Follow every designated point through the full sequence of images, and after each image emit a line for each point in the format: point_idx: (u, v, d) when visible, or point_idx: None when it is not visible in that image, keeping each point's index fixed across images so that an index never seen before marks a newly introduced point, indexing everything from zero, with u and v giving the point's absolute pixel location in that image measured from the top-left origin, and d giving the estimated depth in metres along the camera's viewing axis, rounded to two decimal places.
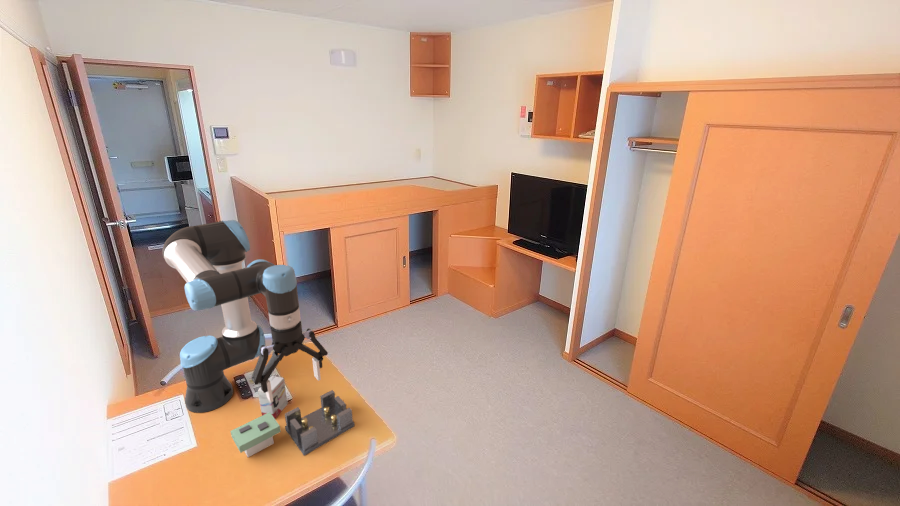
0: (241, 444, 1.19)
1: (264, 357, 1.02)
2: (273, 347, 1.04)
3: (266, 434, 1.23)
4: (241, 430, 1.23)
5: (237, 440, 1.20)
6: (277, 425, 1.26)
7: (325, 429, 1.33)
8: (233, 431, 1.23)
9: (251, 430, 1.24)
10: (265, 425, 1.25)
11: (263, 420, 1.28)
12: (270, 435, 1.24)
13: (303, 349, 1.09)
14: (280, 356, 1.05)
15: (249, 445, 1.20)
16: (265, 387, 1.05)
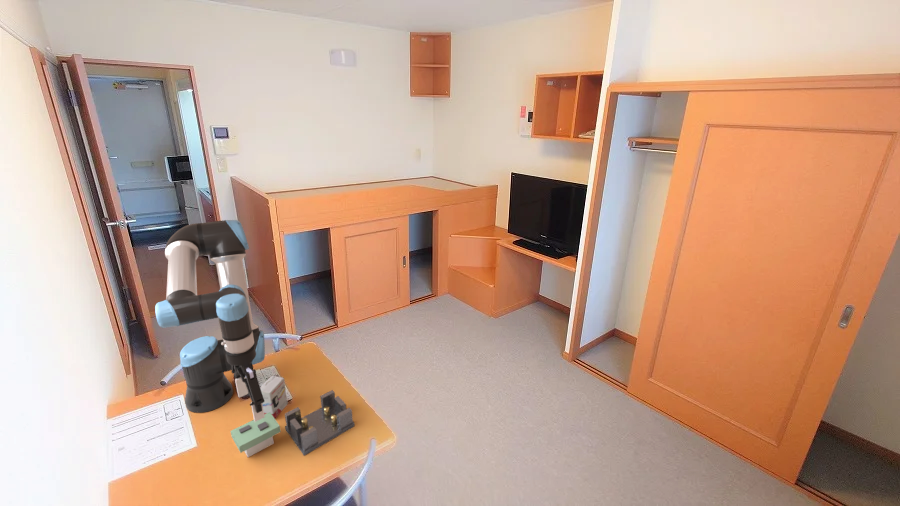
0: (241, 444, 1.19)
1: None
2: None
3: (266, 434, 1.23)
4: (241, 430, 1.23)
5: (237, 440, 1.20)
6: (277, 425, 1.26)
7: (325, 429, 1.33)
8: (233, 431, 1.23)
9: (251, 430, 1.24)
10: (265, 425, 1.25)
11: (263, 420, 1.28)
12: (270, 435, 1.24)
13: (242, 380, 1.13)
14: (234, 368, 1.17)
15: (249, 445, 1.20)
16: None
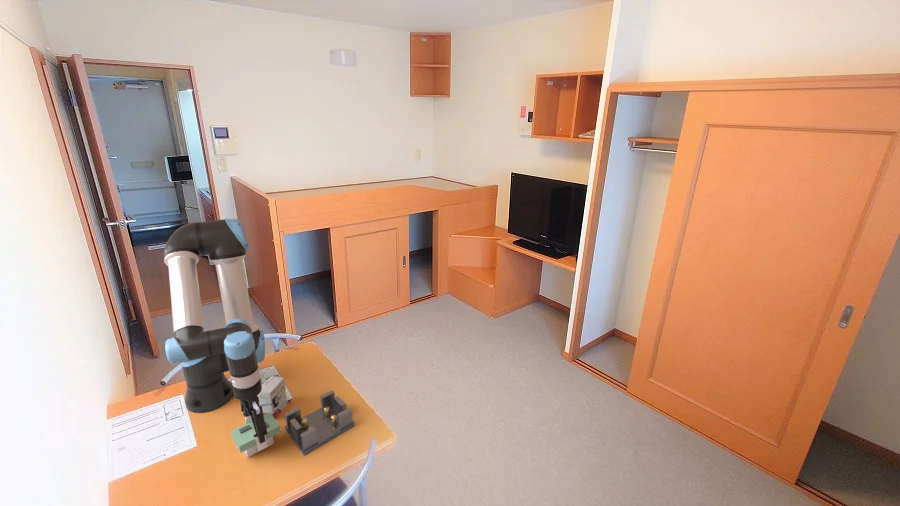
0: (241, 444, 1.19)
1: None
2: None
3: (266, 434, 1.23)
4: (241, 430, 1.23)
5: (237, 440, 1.20)
6: (277, 425, 1.26)
7: (325, 429, 1.33)
8: (233, 431, 1.23)
9: (251, 430, 1.24)
10: None
11: None
12: (270, 435, 1.24)
13: (248, 413, 1.19)
14: (242, 402, 1.22)
15: (249, 445, 1.20)
16: None
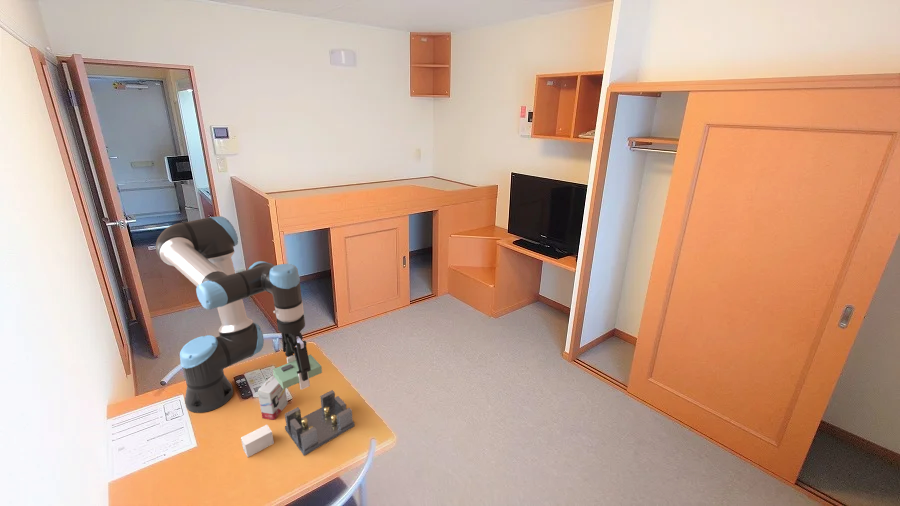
0: (284, 380, 1.17)
1: None
2: None
3: (308, 373, 1.21)
4: (283, 368, 1.21)
5: (280, 377, 1.18)
6: (319, 365, 1.24)
7: (325, 429, 1.33)
8: (275, 369, 1.22)
9: (293, 369, 1.22)
10: None
11: None
12: (312, 374, 1.23)
13: (291, 348, 1.17)
14: (284, 339, 1.20)
15: (292, 382, 1.19)
16: None
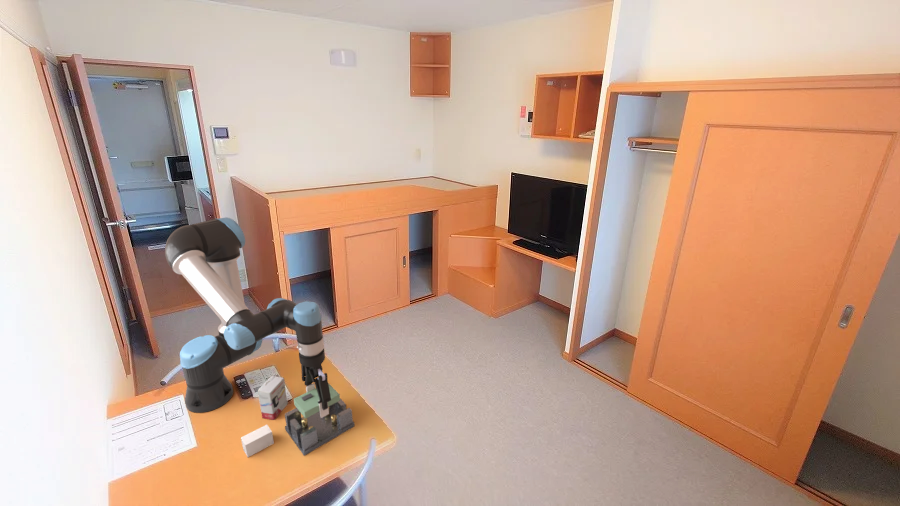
0: (306, 410, 1.24)
1: None
2: None
3: (328, 402, 1.29)
4: (304, 398, 1.29)
5: (301, 406, 1.26)
6: (337, 394, 1.31)
7: (325, 429, 1.33)
8: (296, 399, 1.29)
9: (313, 398, 1.29)
10: None
11: None
12: (331, 403, 1.30)
13: (312, 380, 1.24)
14: (305, 371, 1.27)
15: (313, 411, 1.26)
16: None
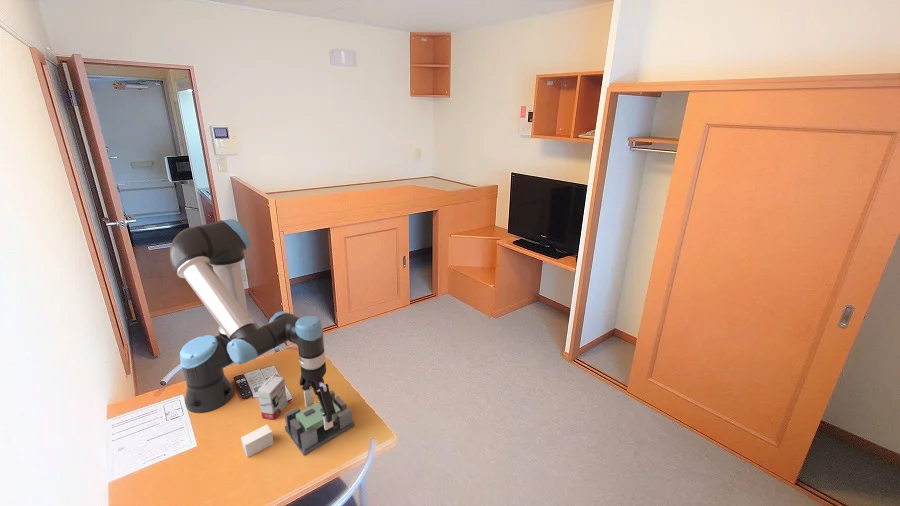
0: (308, 426, 1.27)
1: None
2: None
3: None
4: (306, 413, 1.31)
5: (303, 422, 1.28)
6: (338, 409, 1.34)
7: None
8: (298, 414, 1.31)
9: (315, 414, 1.32)
10: None
11: None
12: None
13: (315, 393, 1.25)
14: (306, 381, 1.29)
15: (315, 427, 1.28)
16: None
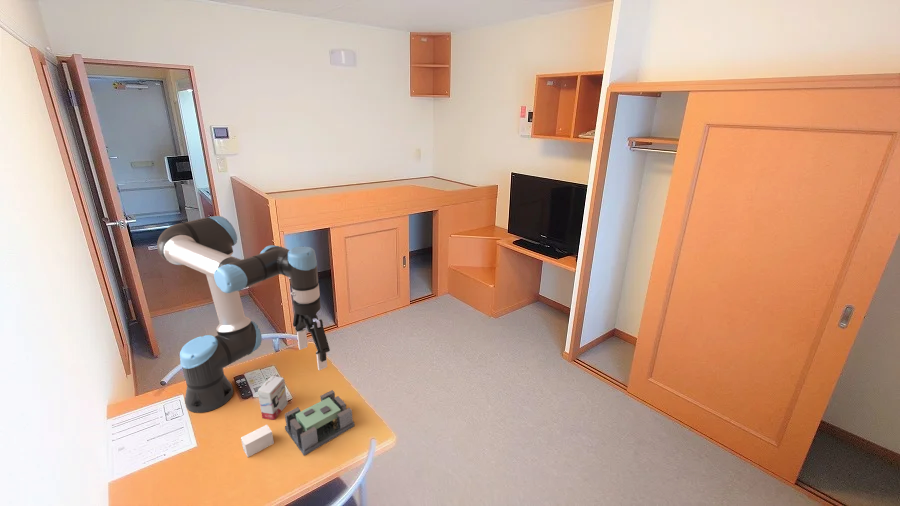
0: (308, 426, 1.27)
1: None
2: None
3: (329, 417, 1.31)
4: (306, 413, 1.31)
5: (303, 422, 1.28)
6: (338, 409, 1.34)
7: (325, 429, 1.33)
8: (298, 414, 1.31)
9: (315, 414, 1.32)
10: (327, 409, 1.33)
11: (324, 405, 1.35)
12: (332, 418, 1.32)
13: (308, 330, 1.19)
14: (299, 319, 1.22)
15: (315, 427, 1.28)
16: None
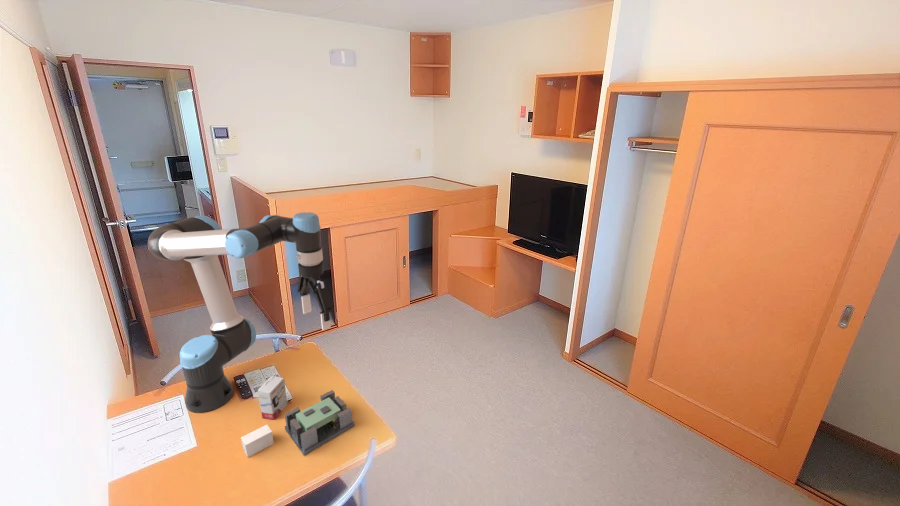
0: (308, 426, 1.27)
1: (299, 275, 1.32)
2: None
3: (329, 417, 1.31)
4: (306, 413, 1.31)
5: (303, 422, 1.28)
6: (338, 409, 1.34)
7: (325, 429, 1.33)
8: (298, 414, 1.31)
9: (315, 414, 1.32)
10: (327, 409, 1.33)
11: (324, 405, 1.35)
12: (332, 418, 1.32)
13: (312, 291, 1.26)
14: (303, 283, 1.30)
15: (315, 427, 1.28)
16: None
